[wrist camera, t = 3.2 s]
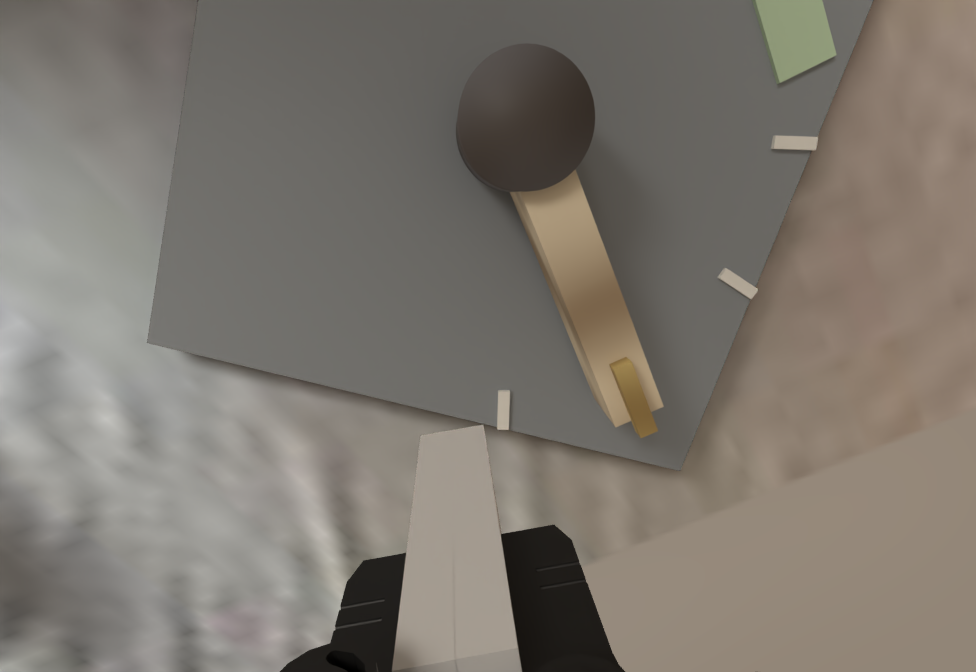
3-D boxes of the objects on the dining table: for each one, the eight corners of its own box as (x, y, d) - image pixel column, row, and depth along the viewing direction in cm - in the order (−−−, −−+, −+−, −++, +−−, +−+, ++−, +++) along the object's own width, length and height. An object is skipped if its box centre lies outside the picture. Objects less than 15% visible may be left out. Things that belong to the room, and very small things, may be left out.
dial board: (165, 334, 23) (144, 345, 22) (270, -336, 18) (253, -389, 16) (667, 457, 27) (682, 474, 25) (882, -76, 21) (918, -98, 20)
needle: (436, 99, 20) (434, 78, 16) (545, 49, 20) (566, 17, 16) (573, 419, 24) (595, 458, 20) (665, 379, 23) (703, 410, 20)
